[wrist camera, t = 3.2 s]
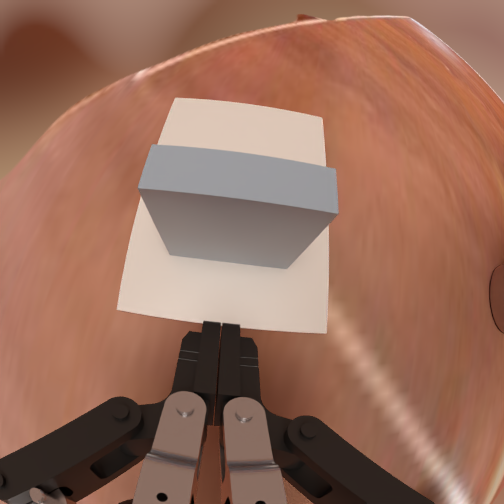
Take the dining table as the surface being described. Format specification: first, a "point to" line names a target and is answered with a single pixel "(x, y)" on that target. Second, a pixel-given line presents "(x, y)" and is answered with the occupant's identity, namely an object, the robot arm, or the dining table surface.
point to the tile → (236, 204)
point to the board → (224, 273)
